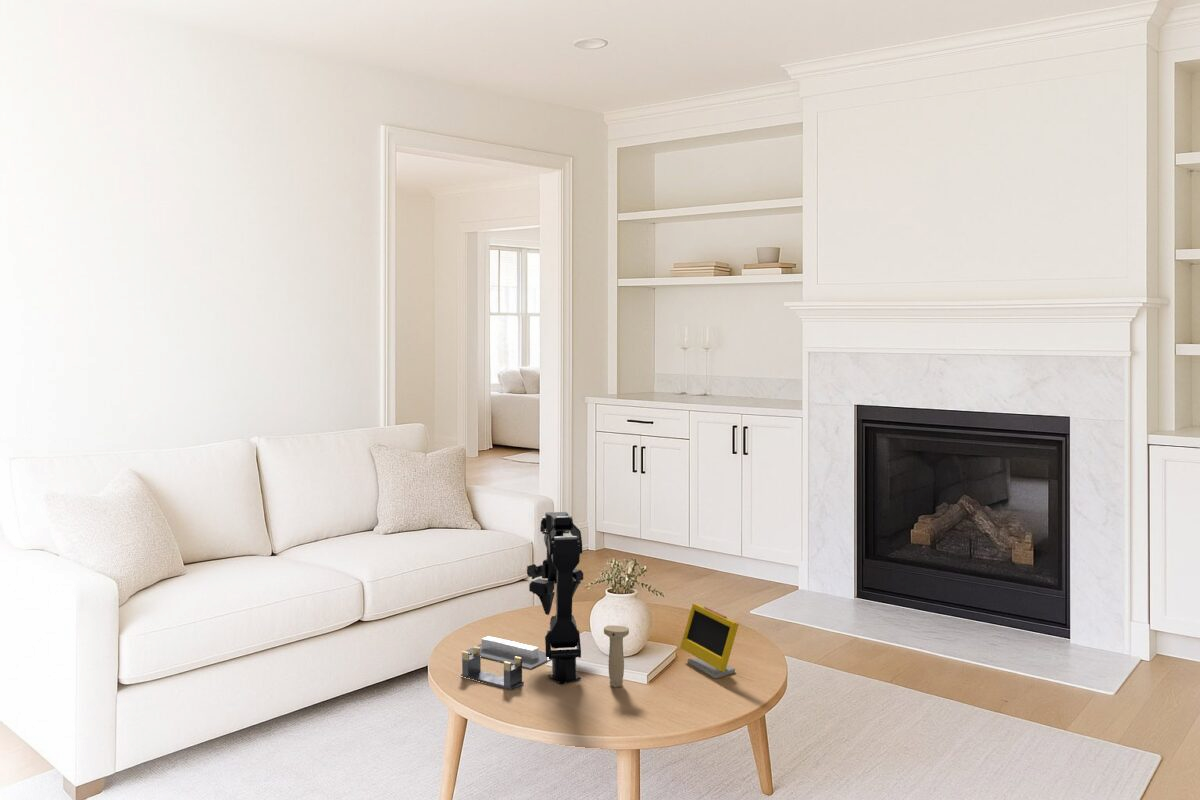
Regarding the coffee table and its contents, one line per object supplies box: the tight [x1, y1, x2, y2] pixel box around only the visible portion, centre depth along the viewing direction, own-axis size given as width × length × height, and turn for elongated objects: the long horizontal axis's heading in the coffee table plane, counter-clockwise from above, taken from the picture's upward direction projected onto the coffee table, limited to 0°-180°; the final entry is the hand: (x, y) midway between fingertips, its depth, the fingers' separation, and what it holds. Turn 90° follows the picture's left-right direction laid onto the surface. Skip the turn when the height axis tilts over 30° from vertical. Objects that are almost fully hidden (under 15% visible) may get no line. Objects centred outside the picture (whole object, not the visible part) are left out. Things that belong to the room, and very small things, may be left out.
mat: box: [464, 643, 548, 671], centre depth 267 cm, size 24×12×1 cm, turn 57°
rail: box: [481, 635, 540, 661], centre depth 267 cm, size 18×3×3 cm, turn 57°
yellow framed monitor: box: [680, 602, 739, 680], centre depth 255 cm, size 20×8×16 cm, turn 27°
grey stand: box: [460, 646, 525, 692], centre depth 247 cm, size 17×5×7 cm, turn 57°
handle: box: [603, 624, 630, 688], centre depth 243 cm, size 5×6×15 cm
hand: (557, 610), depth 268 cm, fingers open, 9 cm apart
